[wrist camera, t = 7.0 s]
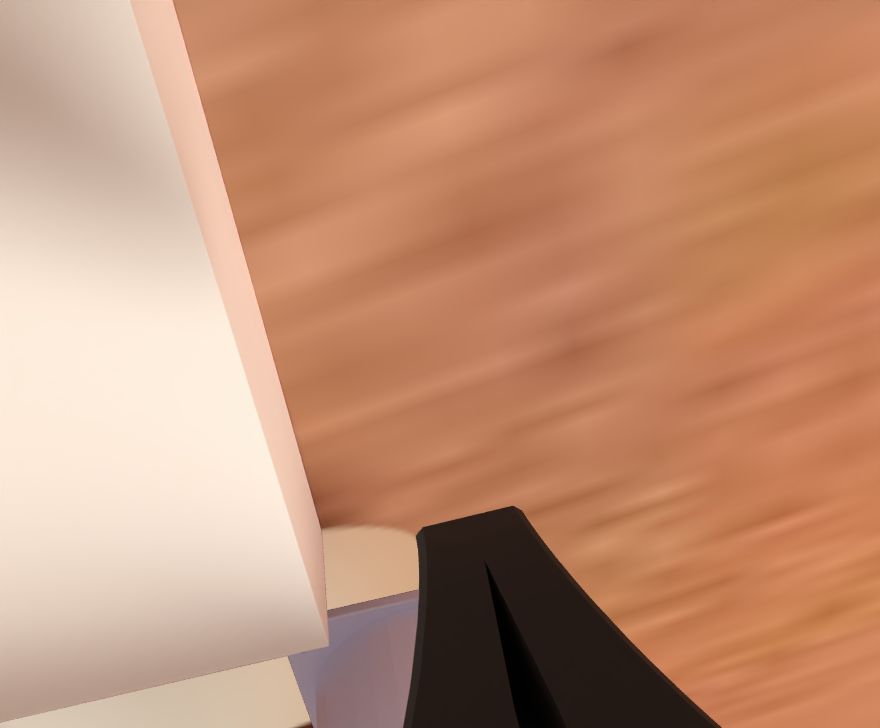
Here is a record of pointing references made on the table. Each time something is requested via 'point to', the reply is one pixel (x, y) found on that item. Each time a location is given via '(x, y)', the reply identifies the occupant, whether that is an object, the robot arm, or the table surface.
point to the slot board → (133, 379)
